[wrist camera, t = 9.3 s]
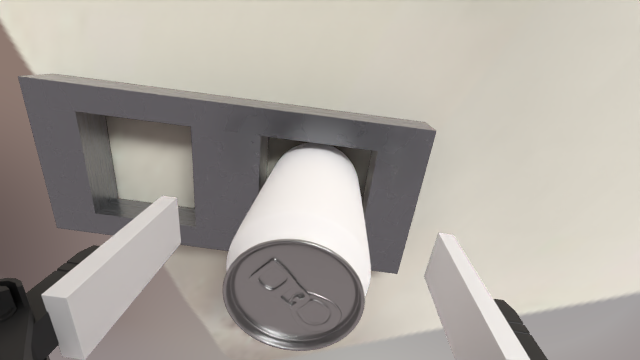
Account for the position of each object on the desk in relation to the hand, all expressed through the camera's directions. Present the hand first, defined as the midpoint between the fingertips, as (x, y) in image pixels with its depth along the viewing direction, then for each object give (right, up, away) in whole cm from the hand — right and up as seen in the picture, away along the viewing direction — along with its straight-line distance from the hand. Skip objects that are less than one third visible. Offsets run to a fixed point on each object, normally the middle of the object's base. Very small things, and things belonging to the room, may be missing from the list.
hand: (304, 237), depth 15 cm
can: (0, +3, +8) cm, 8 cm away
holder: (-6, +4, +8) cm, 10 cm away
